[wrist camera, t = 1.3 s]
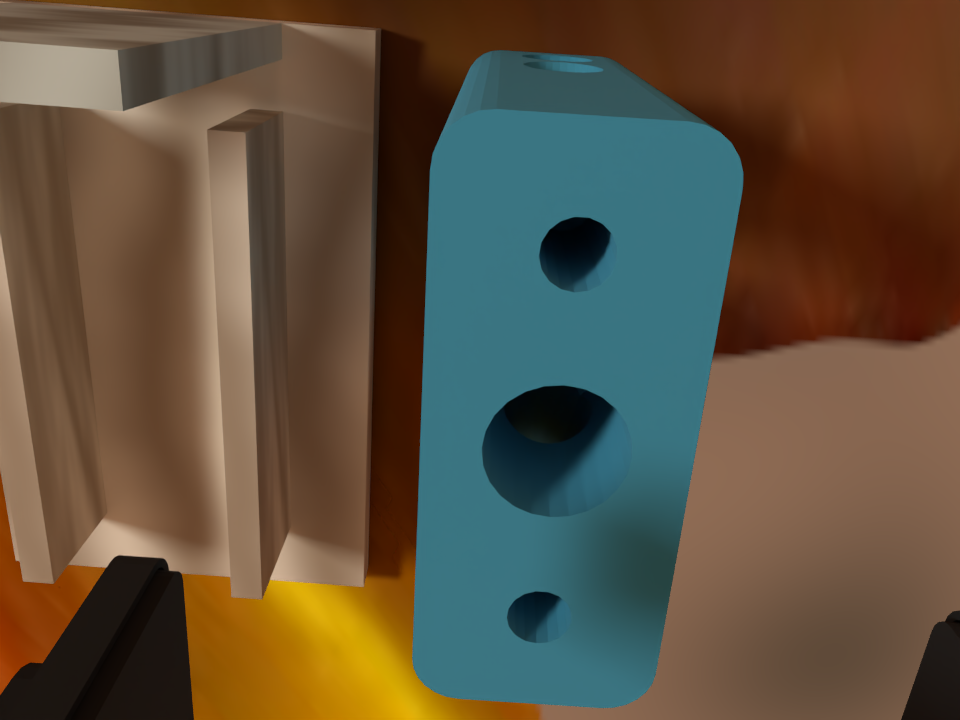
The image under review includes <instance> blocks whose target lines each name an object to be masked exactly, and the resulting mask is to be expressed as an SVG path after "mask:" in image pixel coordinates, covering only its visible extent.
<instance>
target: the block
mask: <svg viewBox="0 0 960 720" xmlns="http://www.w3.org/2000/svg"><path fill="white" fill-rule="evenodd" d="M742 191H743V169H742V165H741V160H740V157H739V155H738V153H737V152H736V150H735V148H734V146H733V144H732V143H731V142H730V141H729V140H728V139H727V138H726V137H725V136H724V135H723V134H722V133H721V132H719V131H718V130H716V129H715V128H713V127H712V126H710V125H709V124H707V123H706V122H704V121H703V120H702V119H700V118H699V117H697V116H696V115H694V114H693V113H691V112H690V111H688V110H687V109H685V108H684V107H682V106H681V105H679V104H678V103H676V102H675V101H674V100H672V99H671V98H669V97H668V96H666V95H665V94H663V93H662V92H660V91H659V90H657V89H656V88H654V87H653V86H651V85H650V84H649V83H647V82H646V81H644V80H643V79H641V78H640V77H638V76H637V75H635V74H634V73H632V72H631V71H629V70H628V69H626V68H625V67H623V66H622V65H621V64H619V63H618V62H616V61H614V60H612V59H610V58H605V57H597V56H582V55H566V54H551V53H535V52H520V51H504V50H498V51H491V52H488V53H485V54H483V55H482V56H480V57H479V58H478V59H476V61H475V62H474V63H473V64H472V66H471V67H470V69H469V72H468V74H467V76H466V78H465V81H464V83H463V85H462V87H461V90H460V92H459V94H458V97H457V99H456V101H455V104H454V106H453V108H452V110H451V113H450V115H449V117H448V120H447V122H446V124H445V126H444V129H443V131H442V133H441V136H440V138H439V140H438V143H437V145H436V147H435V149H434V152H433V155H432V161H431V167H430V184H429V212H428V240H427V268H426V296H425V324H424V351H423V379H422V407H421V435H420V463H419V490H418V518H417V546H416V574H415V602H414V630H413V657H412V659H413V666H414V670H415V672H416V674H417V676H418V678H419V679H420V680H421V681H422V682H423V683H424V685H425V686H427V687H428V688H430V689H431V690H433V691H434V692H436V693H438V694H441V695H444V696H446V697H452V698H458V699H472V700H487V701H502V702H518V703H533V704H548V705H563V706H564V705H565V706H579V707H595V708H613V707H618V706H623V705H626V704H629V703H631V702H633V701H635V700H637V699H638V698H639V697H641V696H642V695H643V694H644V693H646V692H647V690H648V689H649V687H650V686H651V685H652V683H653V680H654V677H655V675H656V669H657V664H658V658H659V653H660V646H661V641H662V636H663V630H664V625H665V619H666V614H667V608H668V603H669V597H670V591H671V586H672V580H673V575H674V569H675V563H676V558H677V552H678V547H679V541H680V536H681V530H682V525H683V519H684V513H685V508H686V502H687V497H688V491H689V485H690V480H691V475H692V469H693V463H694V458H695V452H696V446H697V441H698V436H699V430H700V424H701V418H702V413H703V408H704V401H705V397H706V391H707V385H708V380H709V374H710V368H711V363H712V358H713V352H714V347H715V341H716V335H717V330H718V324H719V319H720V313H721V308H722V302H723V297H724V291H725V285H726V280H727V274H728V269H729V263H730V258H731V252H732V246H733V241H734V235H735V230H736V224H737V219H738V213H739V208H740V202H741V196H742Z"/></svg>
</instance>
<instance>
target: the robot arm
mask: <svg viewBox="0 0 960 720" xmlns="http://www.w3.org/2000/svg"><path fill="white" fill-rule="evenodd" d="M0 720H194V717H193V704H192V691H191V678H190V665H189V652H188V639H187V627H186V614H185V601H184V588H183V579H182V575H181V573H180V572H179V571H169V567H168V563H167V561H166V560H165V559H163V558H154V557H138V556H123V555H118V556H116V557H114V558H113V559H112V561H111V562H110V563H109V565H108V566H107V568H106V569H105V571H104V572H103V574H102V575H101V577H100V578H99V580H98V581H97V583H96V584H95V586H94V587H93V589H92V590H91V592H90V593H89V595H88V596H87V598H86V599H85V601H84V602H83V604H82V605H81V607H80V608H79V610H78V611H77V613H76V614H75V616H74V617H73V619H72V620H71V622H70V623H69V625H68V626H67V628H66V629H65V631H64V632H63V634H62V635H61V637H60V638H59V640H58V641H57V643H56V644H55V646H54V647H53V649H52V650H51V652H50V653H49V655H48V656H47V658H46V659H45V661H44V662H43V663H29V664H27V665H25V666H23V667H22V668H21V669H20V670H19V671H18V672H17V673H16V674H15V676H14V677H13V678H12V679H11V681H10V682H9V684H8V685H7V687H6V688H5V689H4V691H3V692H2V694H1V695H0ZM901 720H960V611H954V612H952V613H951V614H950V615H948V617H947V619H946V621H945V622H938V623H937V624H936V625H935V626H934V628H933V630H932V632H931V635H930V638H929V641H928V644H927V647H926V650H925V653H924V655H923V658H922V661H921V664H920V667H919V670H918V673H917V676H916V679H915V682H914V684H913V687H912V690H911V693H910V696H909V699H908V702H907V704H906V708H905V710H904V713H903V716H902V719H901Z"/></svg>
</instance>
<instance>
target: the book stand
mask: <svg viewBox="0 0 960 720" xmlns="http://www.w3.org/2000/svg"><path fill="white" fill-rule="evenodd" d="M380 60H381V28H368V27H355V26H342V25H329V24H316V23H303V22H290V21H277V20H264V19H251V18H238V17H226V16H213V15H200V14H187V13H174V12H161V11H148V10H135V9H122V8H109V7H96V6H83V5H70V4H57V3H44V2H31V1H18V0H0V471H1V476H2V482H3V488H4V494H5V500H6V506H7V511H8V517H9V523H10V529H11V535H12V541H13V547H14V552H15V558H16V561H20V566H21V572H22V577H23V581H25V582H38V583H51V584H54V583H55V581H56V580H57V579H58V577H59V576H60V575H61V573H62V572H63V571H64V569H65V568H66V567H67V565H80V566H93V567H107V566H108V565H109V563H110V562H111V561H112V559H113V558H114V557H116V556H118V555H123V556H138V557H154V558H163V559H165V560H166V561H167V563H168V567H169V571H179V572H180V573H187V574H200V575H213V576H227V577H231V596H232V597H238V598H251V599H262V598H263V596H264V593H265V591H266V588H267V586H268V583H269V580H280V581H293V582H306V583H320V584H333V585H346V586H360V587H364V583H365V578H366V574H367V570H368V557H369V515H370V474H371V433H372V391H373V350H374V308H375V267H376V225H377V184H378V143H379V101H380Z"/></svg>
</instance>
